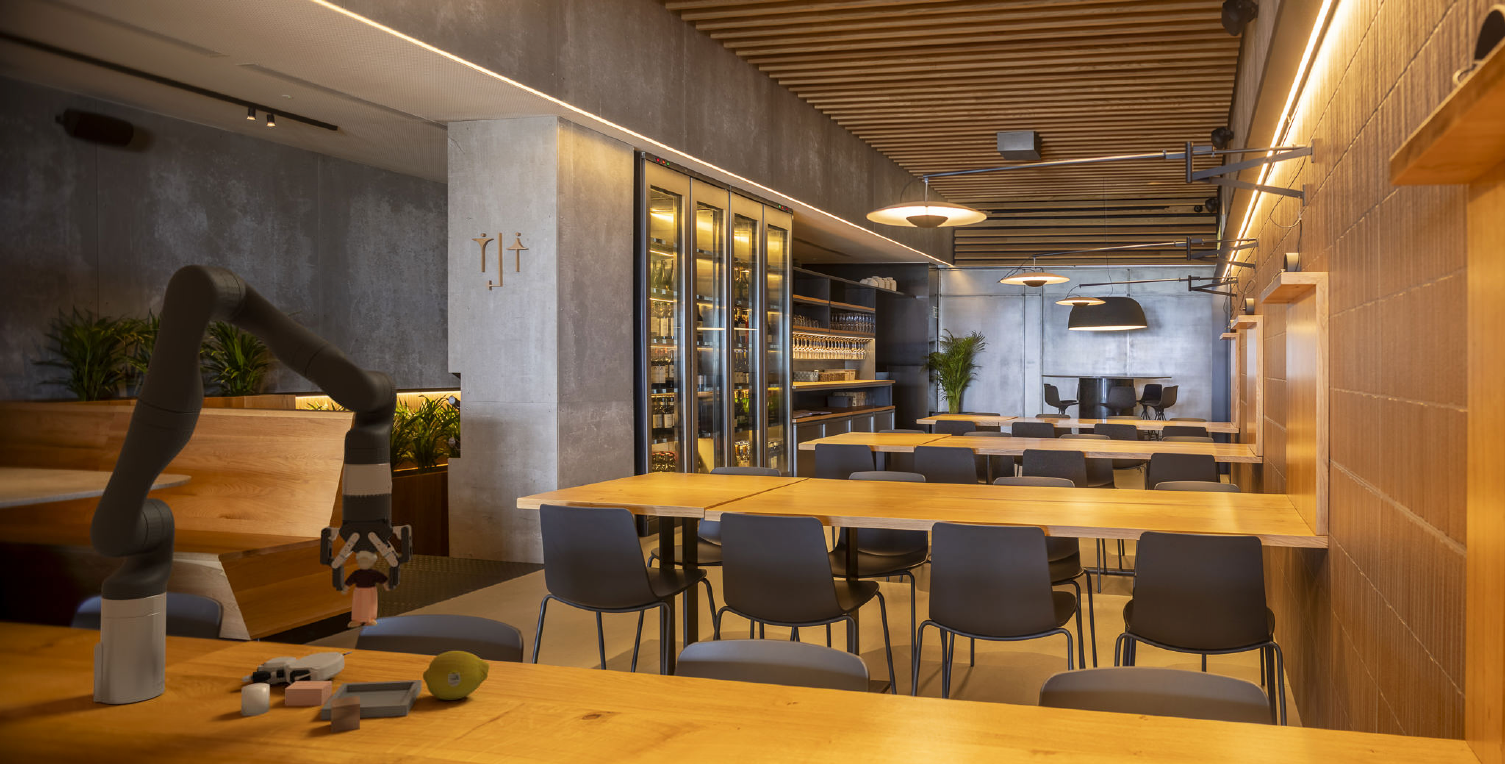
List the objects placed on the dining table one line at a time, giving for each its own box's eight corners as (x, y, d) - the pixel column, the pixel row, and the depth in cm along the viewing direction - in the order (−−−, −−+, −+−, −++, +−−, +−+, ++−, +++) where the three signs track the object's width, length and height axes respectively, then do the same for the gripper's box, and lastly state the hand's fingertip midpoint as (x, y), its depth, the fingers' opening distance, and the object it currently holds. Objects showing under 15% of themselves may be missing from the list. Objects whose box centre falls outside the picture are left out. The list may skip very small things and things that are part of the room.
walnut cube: (331, 733, 140) (331, 707, 140) (330, 724, 143) (331, 699, 143) (359, 729, 142) (360, 703, 142) (358, 721, 145) (359, 696, 145)
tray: (320, 720, 145) (321, 709, 145) (342, 693, 158) (342, 683, 158) (406, 715, 147) (407, 705, 147) (421, 689, 160) (421, 680, 160)
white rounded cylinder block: (237, 716, 146) (237, 691, 146) (246, 708, 150) (246, 684, 150) (264, 715, 147) (264, 690, 147) (272, 707, 151) (273, 682, 151)
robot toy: (237, 697, 158) (321, 694, 157) (235, 671, 158) (319, 667, 157) (278, 675, 170) (356, 672, 169) (276, 651, 170) (354, 647, 169)
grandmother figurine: (341, 630, 148) (341, 551, 148) (340, 624, 151) (340, 548, 151) (392, 624, 151) (392, 547, 151) (390, 619, 154) (390, 544, 155)
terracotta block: (284, 707, 152) (285, 689, 152) (295, 698, 156) (296, 681, 156) (321, 706, 152) (321, 688, 152) (331, 698, 156) (331, 681, 156)
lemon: (415, 706, 152) (416, 658, 152) (431, 691, 160) (431, 645, 160) (480, 706, 152) (481, 658, 152) (493, 691, 160) (494, 645, 160)
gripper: (314, 494, 146) (313, 596, 146) (407, 492, 149) (406, 593, 148) (328, 489, 154) (327, 586, 154) (416, 487, 156) (416, 583, 156)
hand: (366, 589), depth 151 cm, fingers closed on grandmother figurine, 8 cm apart
